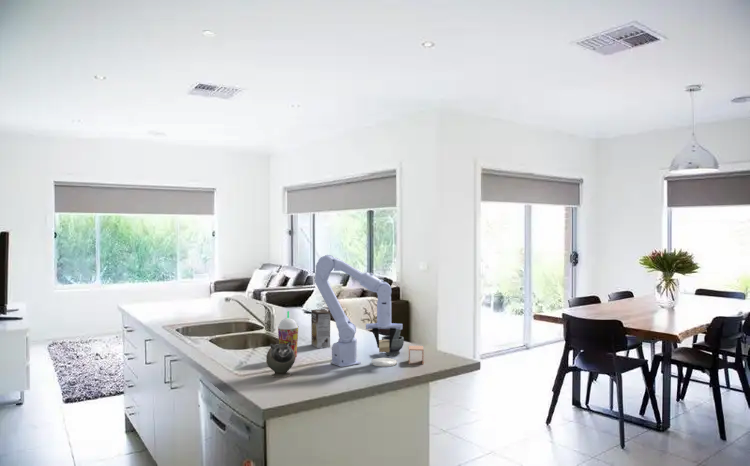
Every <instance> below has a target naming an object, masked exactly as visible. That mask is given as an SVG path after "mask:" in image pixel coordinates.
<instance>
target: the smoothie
mask: <svg viewBox="0 0 750 466" xmlns="http://www.w3.org/2000/svg"><path fill="white" fill-rule="evenodd" d="M286 313H287V314H286V315H287V317H285V318H284V319H282V320H281V321H280V322H279V324H278V326H277V332H278V337H277V338H278V344H287V343H288V342H291V346H290V347H291V348H292V349H293V351H294V354H295V359H296V358H297V356H298V355H297V354H298V343H299V342H298V337H299V325H298V323H297V321H296V320H295V319H294V318H291V317H290V311H288V310H287V312H286Z"/></svg>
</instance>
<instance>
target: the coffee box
mask: <svg viewBox="0 0 750 466" xmlns="http://www.w3.org/2000/svg"><path fill="white" fill-rule="evenodd" d="M310 311H311V313H310V315H311V316H310V317H311V319H310V320H311V327H310V328H311V331H310V332H311V345H312V346H313V347H315V348H316V349H324V348H323V347H328V348H331V312H330V311H328V310H327V309H311V310H310Z"/></svg>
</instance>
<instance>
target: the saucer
mask: <svg viewBox="0 0 750 466" xmlns="http://www.w3.org/2000/svg"><path fill="white" fill-rule="evenodd" d="M397 361H398V360H396V358H390V357H389V358H388V357H379V358H378V357H377V358H373V359H372V360H371V365H372V366H375V367H379V368H388V367H394V366H396V365H398V362H397Z"/></svg>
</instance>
